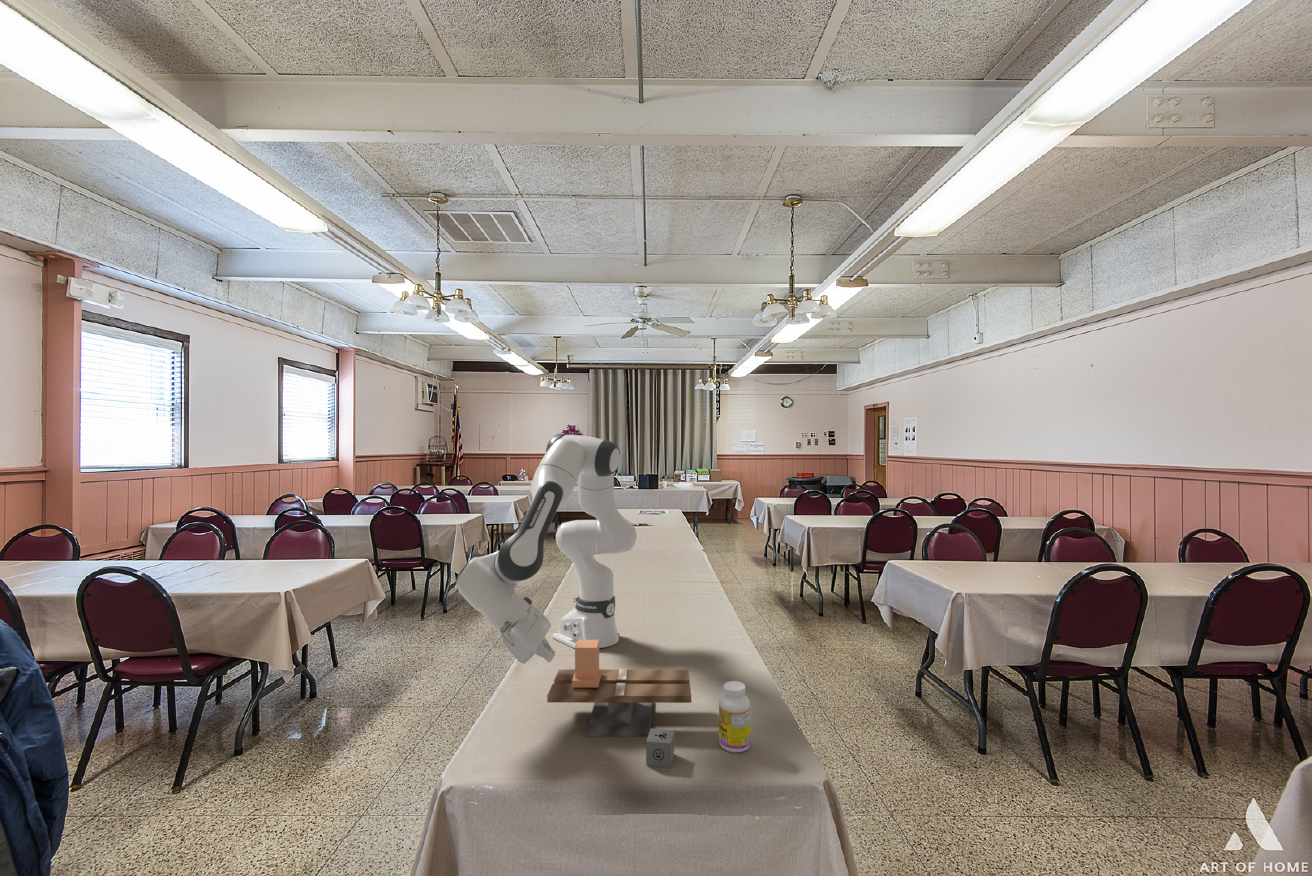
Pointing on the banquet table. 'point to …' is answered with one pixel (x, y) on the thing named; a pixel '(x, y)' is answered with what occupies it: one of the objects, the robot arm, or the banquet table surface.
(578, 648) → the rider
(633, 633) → the banquet table surface
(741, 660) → the banquet table surface
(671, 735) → the dice cube
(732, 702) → the supplement bottle
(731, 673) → the banquet table surface
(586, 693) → the balance beam
